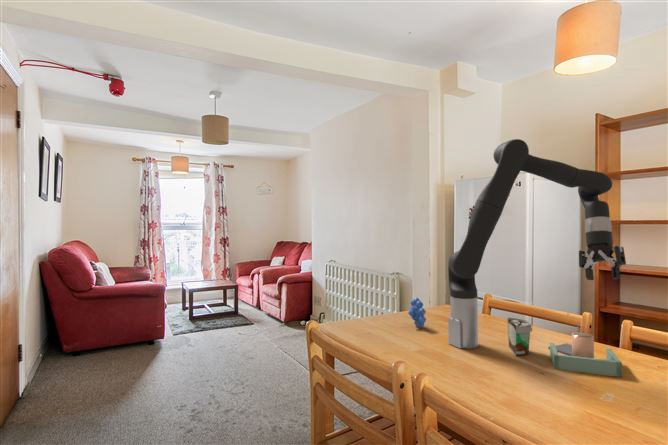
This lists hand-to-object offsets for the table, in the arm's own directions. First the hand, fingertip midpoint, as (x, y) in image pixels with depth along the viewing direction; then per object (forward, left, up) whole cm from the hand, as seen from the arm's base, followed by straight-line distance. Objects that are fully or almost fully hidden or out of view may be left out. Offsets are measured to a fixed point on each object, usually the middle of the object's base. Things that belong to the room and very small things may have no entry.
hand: (602, 279), depth 127 cm
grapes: (-38, +52, -24) cm, 69 cm away
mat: (-9, +5, -24) cm, 26 cm away
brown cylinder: (-17, -5, -24) cm, 30 cm away
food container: (-24, +11, -24) cm, 36 cm away
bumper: (-17, -5, -24) cm, 30 cm away
